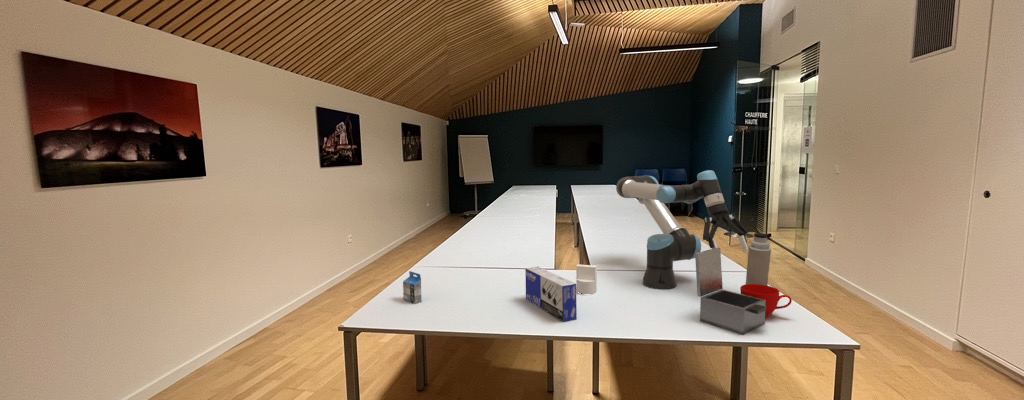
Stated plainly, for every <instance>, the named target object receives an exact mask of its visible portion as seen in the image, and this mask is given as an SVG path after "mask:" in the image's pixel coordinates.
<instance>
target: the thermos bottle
mask: <svg viewBox="0 0 1024 400" xmlns="http://www.w3.org/2000/svg"><path fill="white" fill-rule="evenodd" d="M768 237H769V236H768V234H767V233H763V232H756V233H753V240H751V241H750V245H749V246H748V251H747V252H748V253H747V265H746V276H745V284H761V285H767V286H769V284H768V283H769V273H770V272H769V271H770V262H771V254H772V253H771V252H772V248H771V247H770V246H771V245H770V242H769V241H768Z"/></svg>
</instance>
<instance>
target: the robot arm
mask: <svg viewBox="0 0 1024 400" xmlns="http://www.w3.org/2000/svg"><path fill="white" fill-rule="evenodd" d="M696 178H697V180H696V181H695V182H693V183H691V184H681V185H680V184H679V185H669V184H660V183H659V182H658V180H657V178H656V177H654V176H652V175H647V174H645V175H638V176H637V175H636V176H635V175H633V176H625V177H622V178H620V179H619V180H618V181H617V183H616V185H615V189H616V192H617V195H618V196H619V197H621V198H624V199H637V201H638V203H639V204H641V205H644V207H645V208H646V210H647V211H648V213H650V215H651V218H653V220H654V221H655V223H656V224H657V226H658V227H659V229H660V231H661V232H662V233H656V234H652V235H651V236H648V238H647V241H646V269H645V272H644V275H643V277H642V285H644V286H645V285H646V286H645V287H647V286H648V287H647V288H651V287H652V289H656V288H657V290H668V289H669V290H670V289H671V290H672V289H674V288H676V287H677V286H678V285H677V281H678V280H677V279H676V275H675V272H674V262H678V261H687V260H688V261H690V260H693V259H695V253H699V252H702V242H701V239H700V238H699V236H698V235H696V234H693V233H690V232H689V231H688V229H687V228H685V227H681V225H680V224H679V222H678V221H677V220H676V218H675V217H674V215H673V214H672V213H671V211H670V210H669V208H668V207H667V205H666V204H670V203H682V202H683V203H685V204H689V205H690V204H693V203H696V202H698V201H699V200H700V199H703V201H704V204H705V207H706V209H707V213H708V216H707V217H705V218H703V222H704V226H703V234H702V240H703V241H706V242H707V243H708V245H709V248H710V249H714V248H718V245H717V241H716V239H714V238H715V235H716V232H717V229H718V227H719V228H720V227H727V228H729V229H730V230H731V231H732V232H734V233H735V234H736V235H738V237H737V238H738V241H739V244H740V246H741V250H742V252H743V253H745V252H748V250H749V246H748V245H747V243H748V240H747V237H746V235H747V234H749V230H748V229H747V228H746V227H745V226H744V224H743V223H742V222H741V220H739V218H738V217H737V215H736V213H731V214H729V213H728V207H727V204H726V203H725V199H724V195H723V193H722V190H721V187H720V183H719V180H718V177H717V175H716V173H715V171H714V170H709V169H707V170H704V171H702V172H699V173H698V174H697V176H696ZM711 223H712V224H711Z"/></svg>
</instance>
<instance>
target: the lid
mask: <svg viewBox="0 0 1024 400" xmlns="http://www.w3.org/2000/svg"><path fill="white" fill-rule="evenodd" d="M721 255H722V253H721V247H717V248H714V249H712V248H710V249H707V250H703V251H702V250H701V252H699V253H695V258H694V259H695V273H696V293H697V297H698V298H699V297H700V298H701V297H703V296H706V295H708V294H711V293H714V292H717V291H719V290H722V289H723V272H722V271H723V270H722V257H721ZM723 290H724V289H723Z"/></svg>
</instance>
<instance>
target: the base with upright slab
mask: <svg viewBox="0 0 1024 400" xmlns="http://www.w3.org/2000/svg"><path fill="white" fill-rule="evenodd" d="M575 266H576V269H575V271H576V272H575V274H576V276H575V279H576V282H575V283H576V291H577V292H579V293H582V294H593V293H596V292H597V290H598V289H597V286H598V285H597V283H598V282H597V279H598V278H597V276H598V273H597V268H598V266H597V265H591V264H579V263H578V264H576V265H575ZM577 292H576V293H577ZM579 293H578V294H579ZM597 293H598V292H597ZM597 293H596V294H597ZM582 294H581V295H582ZM593 295H594V294H593Z"/></svg>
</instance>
